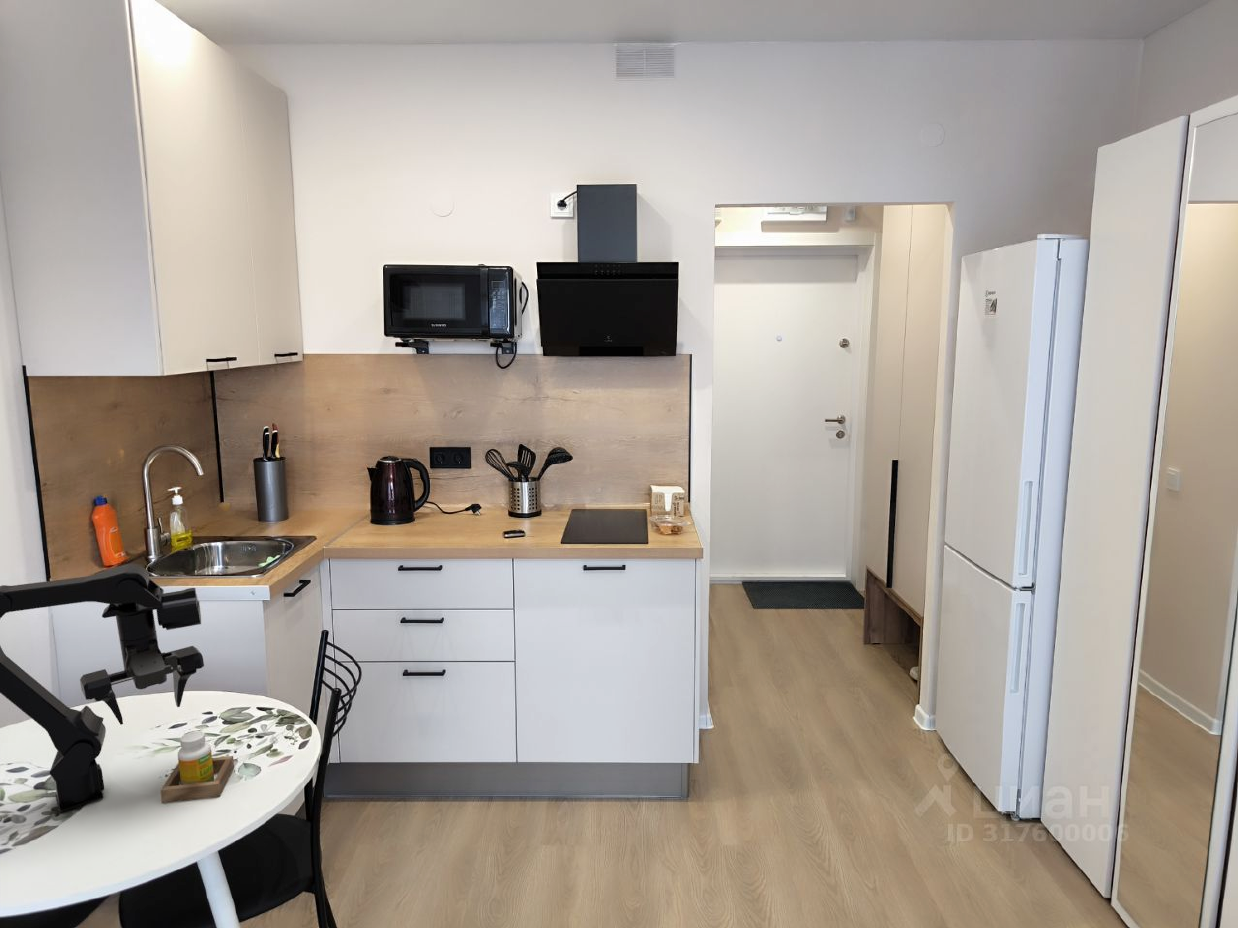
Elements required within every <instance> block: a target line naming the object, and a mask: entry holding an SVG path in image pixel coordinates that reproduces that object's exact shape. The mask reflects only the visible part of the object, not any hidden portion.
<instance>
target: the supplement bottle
mask: <svg viewBox="0 0 1238 928" xmlns="http://www.w3.org/2000/svg"><path fill="white" fill-rule="evenodd" d="M205 734H206V733H205V732H204V731H202V730H196V731H190V732H187V733H185V734H183V735H182V736H181V737H179V738H180V747H181V748H180V749H179V750H178V752H177V760H178V761H177V763H178V762H179V770H180V779H181V783H180V785H186V784H195V783H204V782H213V781H214V780H215V773H214V771H213V762H212V758H213V756H212V748H211V747H212V746H211V744H210V743H209V742H207V741H206V735H205Z"/></svg>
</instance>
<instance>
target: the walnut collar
mask: <svg viewBox="0 0 1238 928" xmlns="http://www.w3.org/2000/svg"><path fill="white" fill-rule="evenodd" d="M234 760H235V759H234V755H230V756H220V757H212V762H213V771H214V774H215V773H217V775H216V777H214V781H213V782H204V783H195V784H186V785H181V779H180V770H179V762H178V761H177V764H176V766H175V767H174V769H173V770H172V772H171V774H170V775H169V777H168V778H167V780H166V781H165V783H164V784H163V785H162V788H161V789H160V796H161V804H167V803H175V802H176V803H177V802H184V801H185V802H186V801H192V800H200V799H210V798H220V797H221V795H222V793H223V791H224V788H226V785H227V783H228V781H229V780H230V778H231V776H232V773H233V772H234V770H235V761H234Z"/></svg>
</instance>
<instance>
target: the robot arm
mask: <svg viewBox="0 0 1238 928" xmlns="http://www.w3.org/2000/svg"><path fill="white" fill-rule="evenodd" d="M86 602H88V603H91V602H92V603H93V602H95V603H101V604H107V606H106V607H105V608H104V609H103V613H102V614H101V617H102V618H104V619H107V618H112V617H113V618H114V617H115V619H116V627H117V633H118V638H119V643H120V650H121V656H122V657H121V658H122V662H123V663H122V664H123V670H121V671H117V672H114V673H110V674H109V673H108V671H107V670H106V669H105V668H104V669H100V670H96V671H92V672H89V673H85V674H83V675H82V676H81V677H80V679H79V681H80V688H81V692H82V694H83V696H84V698H85V700H88V701H89V700H93V699H94V701H95V702H101V701H102V702H104V703H105V704H106V705H107V706H108V707H109V709H110V710H111V711H112V713H113V715H114V717H115V718H116V719H117V721H118V723H119V724H120V725H121V726H122V725H124V723H123V722H124V721H123V720H124V719H123V716H122V713H121V709H120V707H119V703H118V701H117V697H116V694H115V691H114V690H113V687H112V686H114V685H117V684H121V683H125V682H129V681H132V680H133V683H134V687H135V688H136V689H138V690H145V689H147V688H149V687H153V686H155V685H162V684H165V682H167V681H168V677H167V675H170V674H172V675H173V676H172V681H173V690H174V691H173V693H174V701H175V705H176V707H177V708H180V706H181V705H182V704H181V703H182V699H183V695H184V691H185V687H186V685H187V682H188V680H189V678H190V677H191V676H192V675H196V673H197V670H199V669H202V668H203V667H205V663H204V657H203V654H202V653H201V652H200V650H199V649H198V648H197V647H195V646H194V645H190V646H186V647H183V648H179V649H176V650H175V649H174V650H171V651H167V652H162V651H161V650H160V648H159V642H158V634H157V628H156V621H155V616H154V611H155V610H156V618H157V624H158V626H159V627H162V629H165V630H166V631H170V630H176V629H182V628H186V627H187V628H188V627H193V626H198V625H202V614H201V606H200V600H198V595H197V590H196V587H190V588H186V589H182V590H177V591H172V592H165V590H164V589H163V588H162V587H160V585H158V583H156V582H155V581H154V580H152V579H151V578H150V574H149V571H148V570H147V569H146V568H145V567H144V566H142V565H141V564H138V563H133V562H132V563H126V564H122V565H118V566H115V567H110V568H108V569H105V570H102V571H100V572H98V573H94V574H92V575H87V576H80V577H72V578H64V579H63V578H62V579H55V580H48V581H40V582H31V583H24V584H16V585H15V584H14V585H8V584H7V585H3V584H2V585H0V619H2V617H4V615H6V614H8V613H10V612H11V613H12V612H19V611H20V612H21V611H26V610H34V609H35V610H36V609H42V608H48V607H56V606H64V605H65V606H66V605H71V604H79V603H86ZM0 694H1V695H2V696H3V697H4V698H6V699H7V700H8V701H10V703H12V704H13V705H15V706H16V707H17V708H18V709H19V710H21V711H22V712H23V713H24V714H25V715H26V716H28V717H29V718H30V719H32V720H33V721H34V722H35V723H37V724H38V726H41V728H43V730H44V731H46V732H47V734H48V736H49V738H50V740H51V742H52V745H53V746H54V748H55V749H56V750H57V751H56V755H55V756H54V759H53V761H52V765H51V767H50V770H49V774H50V776H51V778H52V779H53V780H54V786H55V793H56V794H55V800H56V803H57V806H58V811H59V812H60V813H64V812H66V811H69V810H72V809H75V808H78V807H81V806H85V805H87V804H90V803H94V802H96V801H99V800H102V799H103V798H104V794H103V791H104V790H105V782H104V777H103V770H102V767H101V764H99V763H97V761H96V759H97V758H98V756H100V754H101V751H102V749H103V746H104V743H105V742H104V741H105V739H106V732H107V729H106V726H105V723H103V721H104V717H102V716H99V715H97V714H96V713H94V711H93V710H92V709H91V708H90V707H89V706H88V705H84V706H83V708H82V709H80V710H77V709H74V708H71V707H68V706H67V705H66V704H65V703H64V702H62V701H61V700H60V699H59V698H58V697H56V696H55V695H54V694H53V693H52V692H51V691H49V690H48V689H46V687H44V686H43V685H42V684H41V683H39V682H38V681H37V680H35V678H33V676H31V675H30V674H29V673H27V671H25V670H24V669H23V668H22V667H20V666H19V665H18V664H17V663H16V662H14V661H13V660H12V659H11V658H10V657H8V656H7V655H6V654H5V652H4V650H3V648H2V646H1V645H0Z"/></svg>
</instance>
